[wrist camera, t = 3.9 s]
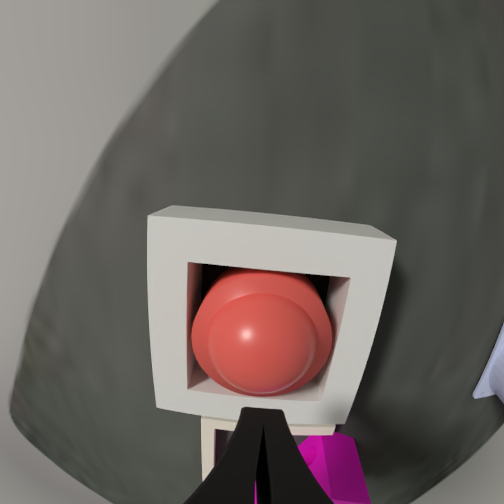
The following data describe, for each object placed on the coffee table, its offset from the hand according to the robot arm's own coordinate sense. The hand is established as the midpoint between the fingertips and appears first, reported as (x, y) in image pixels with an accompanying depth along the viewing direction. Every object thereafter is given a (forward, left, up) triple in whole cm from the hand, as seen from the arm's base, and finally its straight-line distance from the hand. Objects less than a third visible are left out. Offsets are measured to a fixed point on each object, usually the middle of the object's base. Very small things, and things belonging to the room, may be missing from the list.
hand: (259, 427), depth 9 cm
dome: (0, 0, -9) cm, 9 cm away
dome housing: (0, 0, -10) cm, 10 cm away
